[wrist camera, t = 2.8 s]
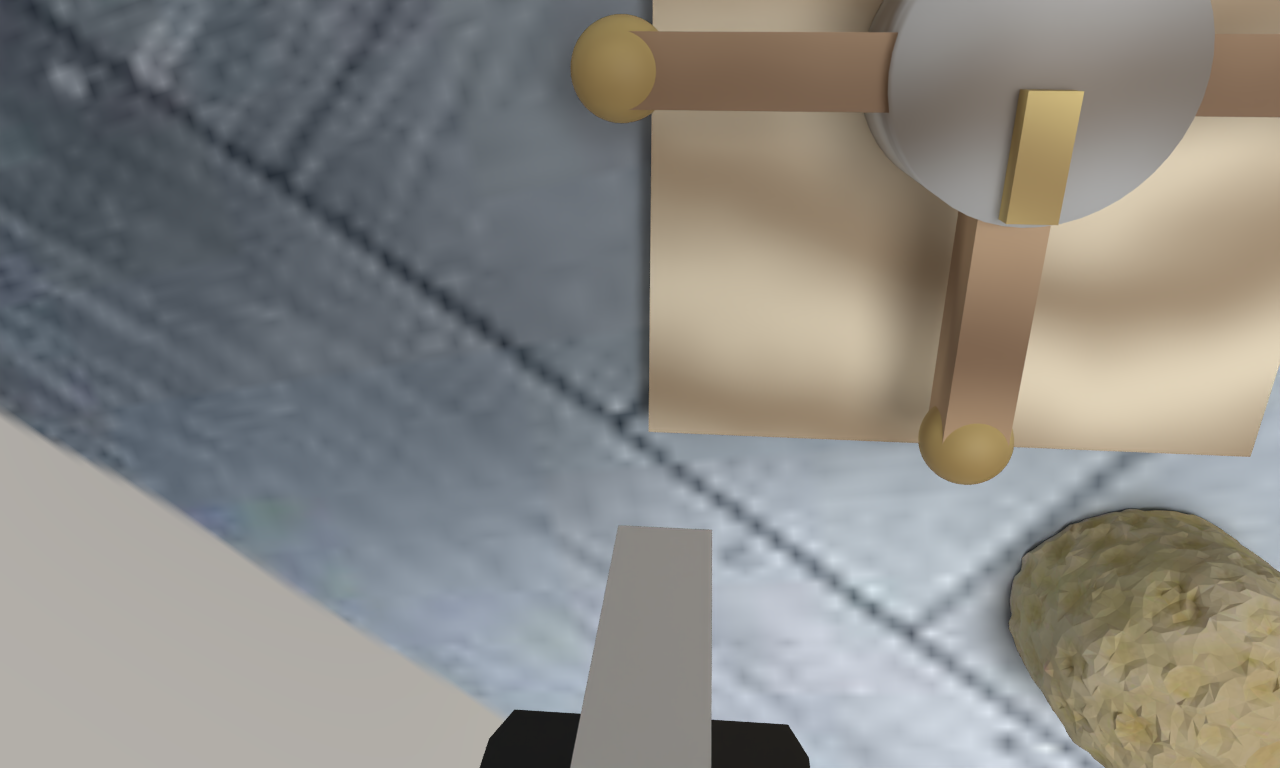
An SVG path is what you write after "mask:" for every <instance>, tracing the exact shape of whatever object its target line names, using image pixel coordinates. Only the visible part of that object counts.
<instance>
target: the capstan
mask: <svg viewBox="0 0 1280 768" xmlns="http://www.w3.org/2000/svg"><path fill="white" fill-rule="evenodd" d="M571 78H572V83H573V86H574V89H575V92H576V94H577V96H578V97H579V99H580V101H581V102H582V103H583V105H584V106H585V107H586V108H587V109H588V110H589V111H590V112H592V113H593V114H594V115H596V116H598V117H599V118H601V119H604V120H606V121H610V122H614V123H629V122H634V121H637V120H640V119H643V118H645V117H647V116H648V115H650V114H651V113H652V112H654V111H655V110H689V111H773V112H858V113H864V116H865V119H866V121H867V124H868V126H869V129H870V131H871V133H872V135H873V137H874V139H875V141H876V143H877V144H878V146H879V147H880V148H881V150H882V151H883V152H884V154H885V155H886V156H887V157H888V158H889V159H890V160H891V161H892V162H893V163H894V164H895V165H896V166H897V167H898V168H899V169H900V170H902V171H903V172H904V173H906V174H907V175H909V176H910V177H911V178H913V179H914V180H915V181H917V182H918V183H919V184H921V185H922V186H924V187H925V188H926V189H928V190H929V191H930V192H932V193H933V194H934V195H936V196H937V197H939V198H940V199H941V200H943V201H944V202H945V203H947V204H948V205H950V206H951V207H952V208H954V209H956V210H958V217H957V224H956V231H955V237H954V244H953V251H952V257H951V264H950V271H949V278H948V284H947V291H946V298H945V305H944V311H943V318H942V325H941V332H940V338H939V345H938V352H937V359H936V365H935V372H934V379H933V385H932V392H931V399H930V406H929V411H928V412H927V414H926V415H925V417H924V419H923V420H922V423H921V425H920V429H919V435H918V442H919V449H920V452H921V455H922V457H923V459H924V461H925V463H926V464H927V465H928V467H929V468H930V469H931V470H932V471H933V472H934V473H935V474H937V475H938V476H940V477H941V478H943V479H945V480H947V481H950V482H952V483H957V484H964V485H972V484H978V483H982V482H985V481H987V480H989V479H991V478H993V477H995V476H996V475H997V474H999V473H1000V472H1001V471H1002V470H1003V469H1004V468H1005V466H1006V465H1007V464H1008V462H1009V460H1010V458H1011V456H1012V453H1013V449H1014V434H1013V429H1012V426H1013V421H1014V416H1015V411H1016V406H1017V400H1018V395H1019V390H1020V385H1021V379H1022V374H1023V369H1024V364H1025V359H1026V353H1027V348H1028V343H1029V338H1030V332H1031V327H1032V322H1033V317H1034V312H1035V306H1036V301H1037V296H1038V291H1039V285H1040V280H1041V275H1042V270H1043V265H1044V259H1045V254H1046V249H1047V244H1048V238H1049V233H1050V228H1051V225H1058V224H1063V223H1066V222H1070V221H1073V220H1077V219H1080V218H1083V217H1085V216H1088V215H1090V214H1092V213H1095V212H1097V211H1100V210H1102V209H1104V208H1105V207H1107V206H1109V205H1111V204H1113V203H1114V202H1116V201H1118V200H1120V199H1121V198H1123V197H1124V196H1126V195H1127V194H1128V193H1130V192H1131V191H1133V190H1134V189H1136V188H1137V187H1138V186H1139V185H1140V184H1142V183H1143V182H1144V181H1145V180H1146V179H1147V178H1148V177H1150V176H1151V175H1152V174H1153V173H1154V172H1155V171H1156V170H1157V169H1158V168H1159V167H1160V166H1161V165H1162V164H1163V162H1164V161H1165V160H1166V159H1167V158H1168V157H1169V156H1170V155H1171V153H1172V152H1173V151H1174V149H1175V148H1176V146H1177V145H1178V144H1179V142H1180V141H1181V140H1182V138H1183V137H1184V135H1185V133H1186V132H1187V130H1188V128H1189V127H1190V125H1191V123H1192V121H1193V120H1194V118H1195V116H1196V117H1280V34H1215V29H1214V17H1213V9H1212V5H1211V1H1210V0H884V1H883V2H882V4H881V6H880V8H879V10H878V11H877V13H876V15H875V17H874V19H873V22H872V24H871V26H870V29H869V31H868V32H684V31H658V30H657V29H656V28H655V27H654V26H653V25H651V24H650V23H649V22H647V21H645V20H644V19H642V18H639V17H636V16H633V15H628V14H614V15H610V16H606V17H604V18H601V19H599V20H597V21H596V22H594V23H593V24H591V25H590V26H589V27H588V28H587V29H586V30H585V31H584V32H583V33H582V35H581V36H580V37H579V39H578V41H577V43H576V45H575V47H574V50H573V53H572V58H571Z"/></svg>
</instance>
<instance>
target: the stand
mask: <svg viewBox="0 0 1280 768" xmlns="http://www.w3.org/2000/svg"><path fill="white" fill-rule="evenodd" d="M883 1H884V0H653V26H654V27H655V28H656V29H657V30H658V31H684V32H868V31H869V29H870V26H871V24H872V22H873V19H874V17H875V15H876V13H877V11H878V10H879V8H880V6H881V4H882V2H883ZM1210 1H1211V5H1212V9H1213V17H1214V29H1215V34H1280V0H1210ZM957 217H958V210H956V209H954V208H952V207H951V206H950V205H948V204H947V203H945V202H944V201H943V200H941V199H940V198H939V197H937V196H936V195H934V194H933V193H932V192H930V191H929V190H928V189H926V188H925V187H924V186H922V185H921V184H919V183H918V182H917V181H915V180H914V179H913V178H911V177H910V176H909V175H907V174H906V173H904V172H903V171H902V170H900V169H899V168H898V167H897V166H896V165H895V164H894V163H893V162H892V161H891V160H890V159H889V158H888V157H887V156H886V155H885V154H884V152H883V151H882V150H881V148H880V147H879V146H878V144H877V143H876V141H875V139H874V137H873V135H872V133H871V131H870V129H869V126H868V124H867V121H866V119H865V116H864V113H858V112H773V111H689V110H655V111H654V112H652V135H651V240H650V346H649V432H667V433H691V434H715V435H739V436H763V437H787V438H811V439H835V440H859V441H883V442H907V443H919V442H918V435H919V429H920V425H921V423H922V420H923V419H924V417H925V415H926V414H927V412H928V411H929V406H930V399H931V392H932V385H933V379H934V372H935V365H936V359H937V352H938V345H939V338H940V332H941V325H942V318H943V311H944V305H945V298H946V291H947V284H948V278H949V271H950V264H951V257H952V251H953V244H954V237H955V231H956V224H957ZM1279 364H1280V117H1196V116H1195V118H1194V120H1193V121H1192V123H1191V125H1190V127H1189V128H1188V130H1187V132H1186V133H1185V135H1184V137H1183V138H1182V140H1181V141H1180V142H1179V144H1178V145H1177V146H1176V148H1175V149H1174V151H1173V152H1172V153H1171V155H1170V156H1169V157H1168V158H1167V159H1166V160H1165V161H1164V162H1163V164H1162V165H1161V166H1160V167H1159V168H1158V169H1157V170H1156V171H1155V172H1154V173H1153V174H1152V175H1151V176H1150V177H1148V178H1147V179H1146V180H1145V181H1144V182H1143V183H1142V184H1140V185H1139V186H1138V187H1137V188H1136V189H1134V190H1133V191H1131V192H1130V193H1128V194H1127V195H1126V196H1124V197H1123V198H1121V199H1120V200H1118V201H1116V202H1114V203H1113V204H1111V205H1109V206H1107V207H1105V208H1104V209H1102V210H1100V211H1097V212H1095V213H1092V214H1090V215H1088V216H1085V217H1083V218H1080V219H1077V220H1073V221H1070V222H1066V223H1063V224H1058V225H1051V228H1050V233H1049V238H1048V244H1047V249H1046V254H1045V259H1044V265H1043V270H1042V275H1041V280H1040V285H1039V291H1038V296H1037V301H1036V306H1035V312H1034V317H1033V322H1032V327H1031V332H1030V338H1029V343H1028V348H1027V353H1026V359H1025V364H1024V369H1023V374H1022V379H1021V385H1020V390H1019V395H1018V400H1017V406H1016V411H1015V416H1014V421H1013V426H1012V429H1013V434H1014V447H1028V448H1052V449H1076V450H1100V451H1124V452H1148V453H1172V454H1196V455H1220V456H1244V457H1250V456H1251V453H1252V450H1253V447H1254V444H1255V440H1256V437H1257V434H1258V431H1259V428H1260V425H1261V421H1262V418H1263V415H1264V412H1265V409H1266V405H1267V402H1268V399H1269V396H1270V393H1271V390H1272V386H1273V383H1274V380H1275V377H1276V374H1277V371H1278V367H1279Z"/></svg>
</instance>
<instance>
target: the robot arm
mask: <svg viewBox="0 0 1280 768" xmlns="http://www.w3.org/2000/svg"><path fill="white" fill-rule="evenodd" d="M711 676H712V530H704V529H683V528H662V527H641V526H621V525H618V530H617V535H616V540H615V545H614V550H613V555H612V560H611V565H610V570H609V575H608V580H607V585H606V590H605V595H604V600H603V605H602V610H601V615H600V620H599V625H598V630H597V635H596V640H595V646H594V651H593V656H592V661H591V666H590V671H589V676H588V681H587V686H586V691H585V696H584V701H583V706H582V711H581V714H575V713H559V712H544V711H528V710H514V711H513V712H512V713H511V714H510V715H509V717H508V718H507V719H506V720H505V721H504V722H503V724H502V725H501V726H500V727H499V728H498V729H497V730H496V732H495V733H494V734H493V735H492V736H491V737H490V738H489V741H488V744H487V747H486V750H485V753H484V756H483V759H482V762H481V766H480V768H810V763H809V757H808V756H807V754H806V753H805V751H804V749H803V748H802V746H801V745H800V743H799V741H798V740H797V738H796V737H795V735H794V733H793V732H792V730H791V729H790V727H789V725H785V724H770V723H754V722H738V721H723V720H711Z"/></svg>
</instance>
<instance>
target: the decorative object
mask: <svg viewBox="0 0 1280 768" xmlns="http://www.w3.org/2000/svg"><path fill="white" fill-rule="evenodd" d="M1010 606H1011V614H1012V616H1011V618H1010V621H1009V626H1010V627H1009V630H1010V632H1011V634H1012V636H1013V638H1014V642H1015V645H1016V648H1017V651H1018V652H1019V654H1020V657H1021V658H1022V660H1023V662H1024V665H1025V666H1026V668H1027V670H1028V671H1029V673H1030V675H1031V678H1032V679H1033V680H1034V682H1035V683H1036V684H1037V686H1038V687H1039V688H1040V689H1041V691H1042V692H1043V694H1044V696H1045V697H1046V699H1047V701H1048V702H1049V704H1050V706H1051V708H1052V710H1053V711H1054V712H1055V713H1056V714H1057V716H1058V718H1059V719H1060V721H1061V722H1062V724H1063V725H1064V726H1065V729H1066V732H1067V733H1068V735H1069V736H1070V738H1071V739H1072V741H1073V742H1074V743H1075V744H1077V745H1078V746H1080V747H1081V748H1083V749H1084V750H1086V751H1087V752H1089V753H1090V754H1091V755H1092V757H1093V758H1094V759H1095V760H1097V761H1098V762H1099V763H1100V764H1102V765H1103V766H1104V767H1105V768H1280V572H1279V571H1277V570H1276V569H1274V568H1273V567H1272V566H1271V565H1269V564H1268V563H1267V562H1266V561H1264V560H1263V559H1262V558H1260V557H1259V556H1257V555H1256V554H1254V553H1253V552H1252V551H1250V550H1249V549H1247V548H1246V547H1244V546H1242V545H1241V544H1240V543H1239V542H1238V541H1237V540H1236V539H1234V538H1233V537H1231V536H1230V535H1228V534H1227V533H1225V532H1224V531H1223V530H1222V529H1220V528H1218V527H1217V526H1215V525H1213V524H1212V523H1210V522H1208V521H1206V520H1205V519H1203V518H1201V517H1198V516H1196V515H1193V514H1192V515H1188V514H1183V513H1180V512H1176V511H1162V510H1151V511H1143V510H1139V509H1126V510H1124V511H1122V512H1112V513H1106V514H1103V515H1100V516H1097V517H1092V518H1088V519H1085V520H1083V521H1081V522H1079V523H1076V524H1071V525H1069V526H1068V527H1066V528H1065V529H1064V530H1062V531H1061V532H1060V533H1058V534H1056V535H1054V536H1053V537H1051V538H1049V539H1047V540H1046V541H1044V542H1043V543H1041V544H1040V545H1039V546H1037V547H1036V548H1035V549H1034V550H1032V551H1030V552H1028V553H1027V554H1026V555H1025V556H1024V557H1023V558H1022V567H1021V571H1020V572H1019V573H1018V574H1017V575H1016V576H1015V577H1014V580H1013V584H1012V589H1011V595H1010Z"/></svg>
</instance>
